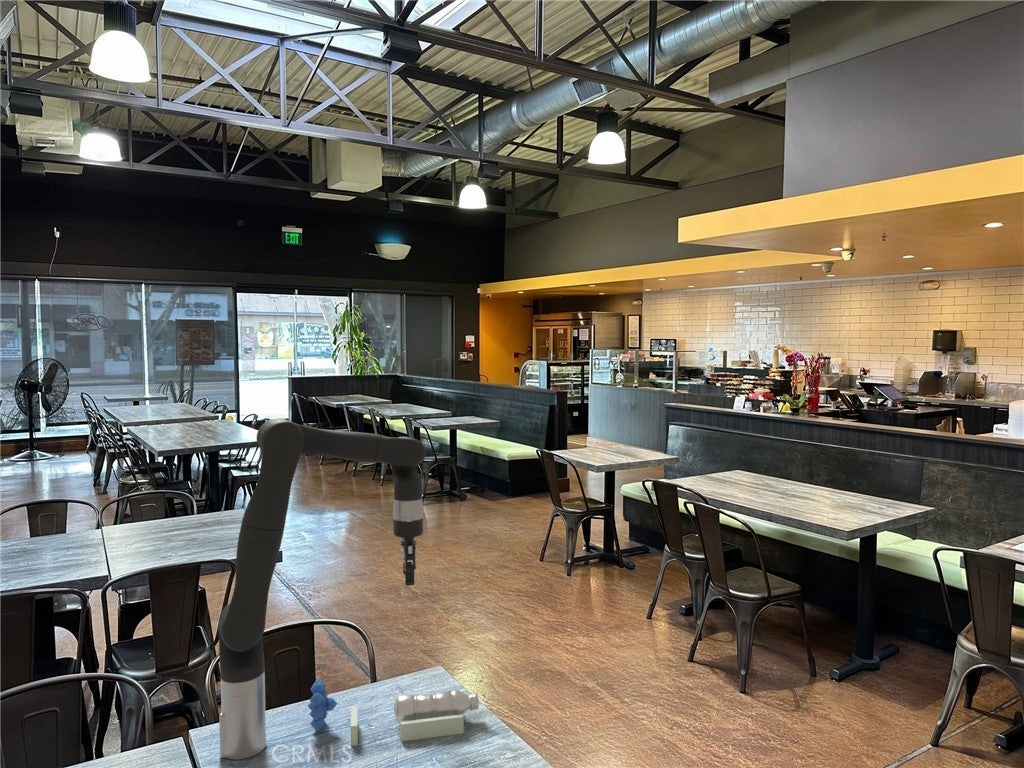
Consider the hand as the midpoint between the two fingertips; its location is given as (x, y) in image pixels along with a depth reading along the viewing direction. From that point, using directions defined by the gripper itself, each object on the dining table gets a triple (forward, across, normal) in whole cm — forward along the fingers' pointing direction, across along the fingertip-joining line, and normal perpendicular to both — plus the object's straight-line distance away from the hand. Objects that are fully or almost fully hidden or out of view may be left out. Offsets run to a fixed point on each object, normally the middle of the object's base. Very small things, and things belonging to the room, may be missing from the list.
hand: (408, 579), depth 173 cm
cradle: (+32, +12, +5) cm, 34 cm away
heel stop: (+32, +12, -14) cm, 37 cm away
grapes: (+32, +8, -21) cm, 39 cm away
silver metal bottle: (+28, +11, -5) cm, 30 cm away
